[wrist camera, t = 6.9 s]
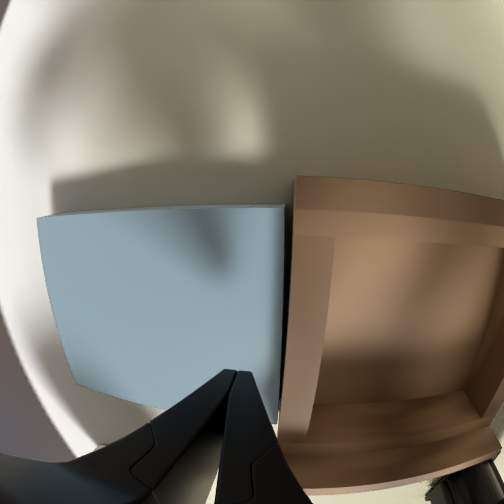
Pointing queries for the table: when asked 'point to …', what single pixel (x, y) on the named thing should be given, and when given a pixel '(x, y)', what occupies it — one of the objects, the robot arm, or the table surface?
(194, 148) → the table surface
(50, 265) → the cover plate
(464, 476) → the robot arm
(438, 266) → the slide box
